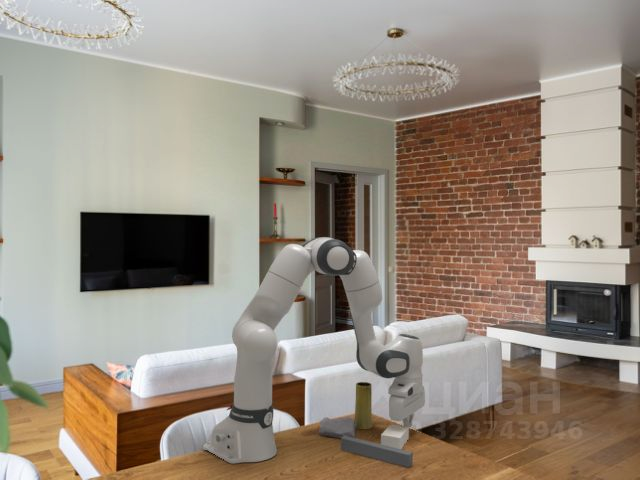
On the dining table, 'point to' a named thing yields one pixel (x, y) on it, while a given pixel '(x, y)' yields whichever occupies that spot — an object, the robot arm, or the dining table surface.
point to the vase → (363, 405)
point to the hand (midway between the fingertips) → (407, 427)
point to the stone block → (337, 427)
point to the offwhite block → (395, 436)
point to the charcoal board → (377, 451)
